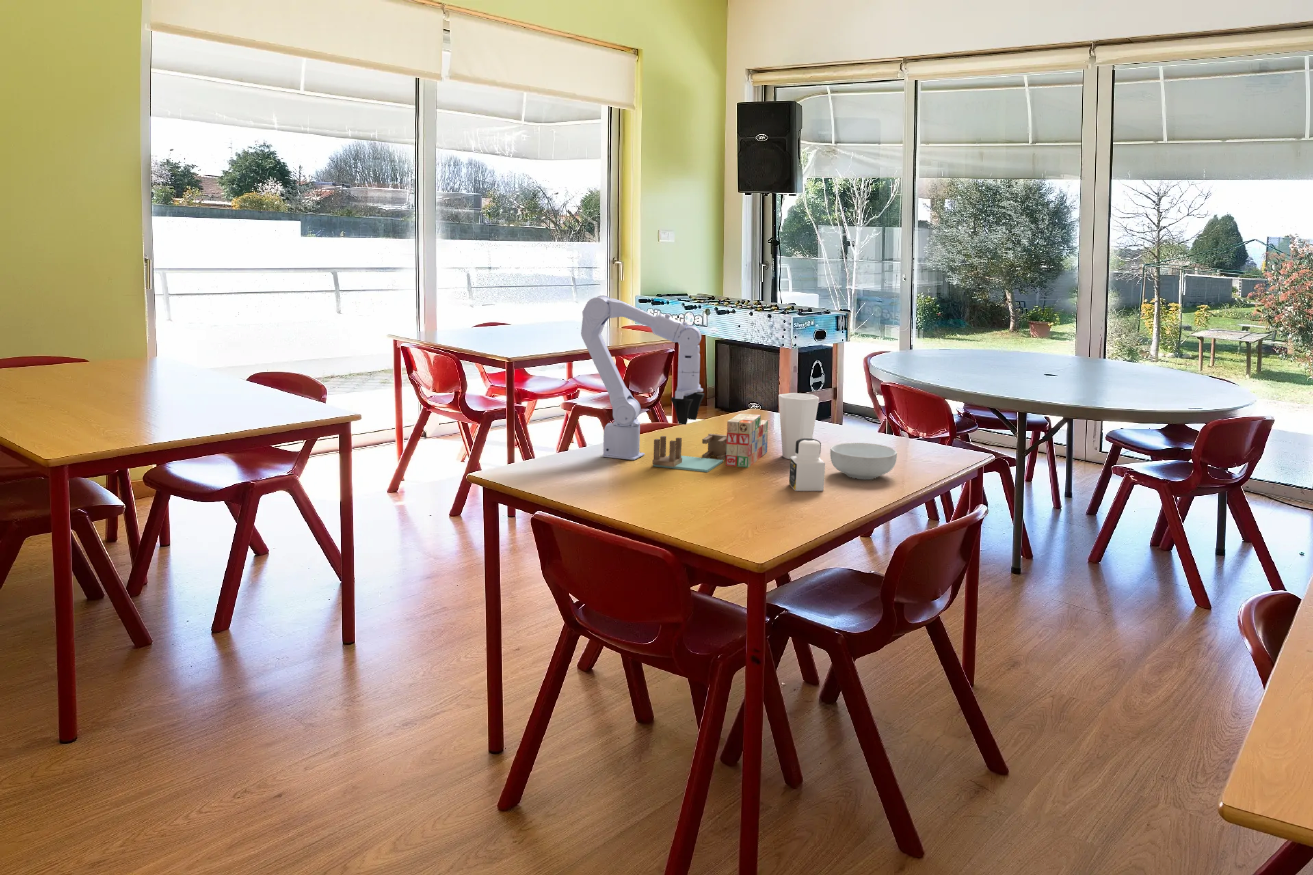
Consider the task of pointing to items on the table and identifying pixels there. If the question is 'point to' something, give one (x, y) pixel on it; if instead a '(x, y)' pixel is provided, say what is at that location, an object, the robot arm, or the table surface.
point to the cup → (796, 419)
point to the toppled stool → (715, 446)
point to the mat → (695, 464)
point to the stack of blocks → (746, 439)
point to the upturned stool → (661, 456)
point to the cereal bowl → (863, 459)
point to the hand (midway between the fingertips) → (687, 421)
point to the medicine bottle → (807, 466)
